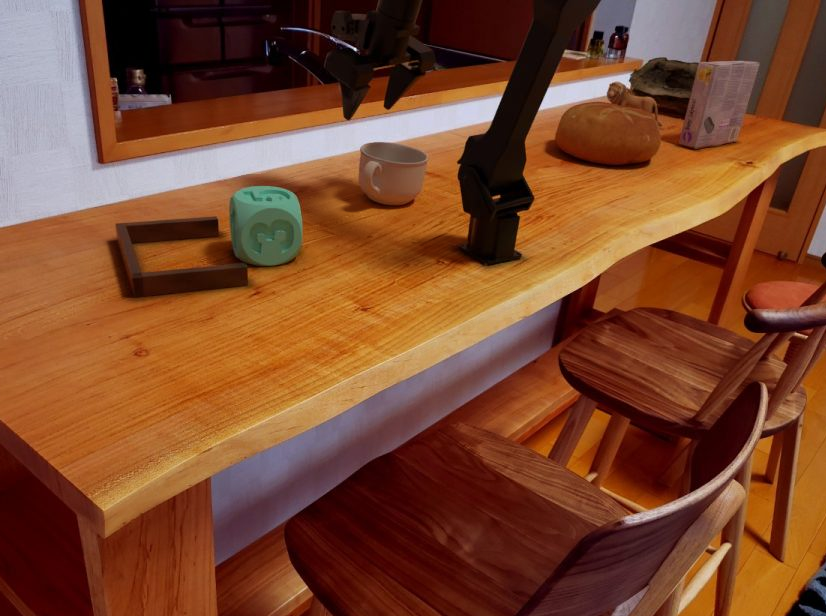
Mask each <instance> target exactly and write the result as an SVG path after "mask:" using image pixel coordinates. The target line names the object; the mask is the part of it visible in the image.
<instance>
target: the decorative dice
mask: <svg viewBox="0 0 826 616" xmlns="http://www.w3.org/2000/svg"><path fill="white" fill-rule="evenodd" d="M228 207H229V208H228V214H229V215H228V217H229V231H230V232H229V233H230V239H231V245H232V249H233V253H234V256H235V257H236V258H237V259H238V260H239V261H241V262H242V263H246V264H248V265H253V266H259V267H274V266H280V265H285V264H287V263H290V262H291V261H293V260H294V259H295V258H296V257H297V256H298V254H300V252H301V250H302V246H303V238H304V237H303V235H304V234H303V232H304V231H303V230H304V229H303V217H302V209H301V205H300V202H299V199H298V197H297V195H296V194H295V193H294V192H292V191H291V190H288V189H286V188H283V187H280V186H279V187H278V186H271V185H256V186H255V185H254V186H248V187H243V188H239V190H237V191H236V192H234V194H233V195H231V197H230V198H229V205H228Z"/></svg>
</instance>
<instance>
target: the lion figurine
mask: <svg viewBox="0 0 826 616" xmlns="http://www.w3.org/2000/svg"><path fill="white" fill-rule="evenodd" d="M608 85H609V86H608V89H607V92H606V98H607V100H608V102H609V103H612V104H616V105H619V106H623V107H630V108H637V109H642V110H644V111H646V112H648V113H649V114H651V115H652V116H653V111H654V118H655V119H656V121H657V122H658V125H659V127H661V128H662V127H663V125H662V123H661V122H659V118H658V117H659V115H658V114H659V112H658V111H659V110H658V104H656V102H655V100H654V99H653V98H651V97H638V96H635V95H634V94H633V92H632V89H630V88H629V87H627V86H626V84H624V83H622V82H620V81H614V82H613V81H612V83H609V84H608Z"/></svg>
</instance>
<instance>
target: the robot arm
mask: <svg viewBox="0 0 826 616" xmlns="http://www.w3.org/2000/svg"><path fill="white" fill-rule="evenodd" d="M601 1H602V0H532V12H533V13H532V14H533V18H532V22H531V24H530V26H529V29H528V31H527V33H526V36H525V39H524V41H523V43H522V46H521V49H520V51H519V54H518V55H517V59H516V61H515V64H514V66H513V68H512V71H511V74H510V76H509V78H508V81H507V84H506V86H505V88H504V91H503V94H502V96H501V98H500V101H499V104H498V105H497V108H496V110H495V113H494V115H493V118H492V120H491V123H490V126H489V127H488V129H487V131H486V132H485V133H484V132H483V133H479V134H474V135H469V136H468V137H467V140H466V141H465V145H464V148H463V151H462V154H461V157H460V158H459V159H458V160H457V161H456V164H457V165H459V167H458V170H457V181H458V183H459V191H460V197H461V203H462V204H461V205H462V212H464V213H466V214H469V216H470V217H469V224H468V232H467V237H466V238H467V239H466V243H461V244H459V245H458V249H459V250H461V251H462V252H464V253H465V254H467V255H469V256H471V257H472V258H474V259H475V260H478V261H479V262H481V263H482V264H485V265H494V264H499V263H502V262H507V261H512V260H518V259H521V258H522V256H523V253H522V252H520V251H518V250H516V244H517V237H518V232H519V228H520V227H519V226H520V219H521V216H520V215H519V214H518V213H521V212H527V211H529V210H530V209H531V207H532V205H533V203H534V201H535V195H534V194H533V191H532V190H531V188H530V185H529V184H528V182H527V180H526V178H525V176H524V171H525V167H526V164H527V148H526V140H527V137H528V134H529V132H530V130H531V129H532V126H533V123H534V121H535V119H536V118H537V117H536V116H537V115H538V113H539V110H540V108H541V105H542V103H543V101H544V99H545V97H546V94H547V92H548V90H549V87H550V85H551V84H552V81H553V78H554V77H555V74H556V72H557V70H558V67H559V65H560V63H561V61H562V58H563V56H564V54H565V52H566V49H567V47H568V45H569V43H570V40H571V38H572V36H573V35H574V33H575V31H577V29H578V28H579V27H580V26H581V25H582V24H583V23H584V22H585V21H586V20H587V19H588V18H589V17H590V16H591V14H593V13H594V12H595V11H596V9H597V8H598V6H599V5H600V3H601ZM422 2H423V0H378V1H377V5H376V8H375V9H374V10H368V12H366V14H365V13H352V12H351V11H350V10H348V11H345V10H336V11H334V14H333V15H332V19H331V25H330V27H331V33H332V34H333V36H337V39H338V40H339V41H344V40H346V41H351V42H356V43H355V46H356V47H357V48H358V49H360V50H361V51H365V55H361V54H360V53H358V52H357V51H355V50H354V49H352V48H351V47H344V48H338V49H332V50H331V51H329V52H327V53H326V56H325V61H324V64H323V69H325V71H327V72H328V73H330V75H331V76H333V78H335V79H337V81H338V83H339V88H340V94H341V105H342V117H343V119H345V120H346V121H351V120H352V118H353V117H354V116H355V114H356V113H357V111H358V109H359V107H360V105H361V104H362V103H363V101H364V99H365V97H366V96H367V94H368V93H369V91H370V89H371V88H372V86H371V85H369V84H370V83H371V81H373V79H374V74H375V71H377V70H378V71H379V70H382V69H383V70H384V69H387V68H389V70H390V71H389V77H388V81H387V86H386V91H385V94H384V100H383V108H384V109H385V110H387V111H388V110H391V109H392V108H393V107H394V106H395V105H396V104H397V103H398V102H399V100H400V99H401V98H403V97H404V96H405V94H406V93H407V92H409V90H410V89H412V88H413V87H414V85H416V84H417V83H418V82H419V81H420V80H421V79H422V78H424V77H425V76H426V75H427V72H432V71H433V68H434V66H435V64H436V60H437V58H436V55H435V51H434V50H433V49H432V48H430V47H429V46H428V45H426V44H424V43H423V42H422V41H420V40H418V39H417V38H415V37H414V36H416V35H419V32H420V29H421V27H420V26H419V25H418V24H416V21H417V18H418V16H419V12H420V9H421V5H422ZM498 196H499V197H498ZM493 197H497V198H493Z"/></svg>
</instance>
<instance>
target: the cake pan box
mask: <svg viewBox="0 0 826 616" xmlns="http://www.w3.org/2000/svg"><path fill="white" fill-rule="evenodd" d="M698 63H699V64H698V68H697V72H696V76H695V80H694V84H693V88H692V92H691V97H690V101H689V105H688V109H687V112H686V114H685V117H684V121H683V125H682V128H681V133H680V137H679V141H678V144H679V145H681V146H684V147H687V148H689V149H693V150H697V149H702V148H708V147H718V146H722V145H724V144H731V143H737V142H738V140H739V136H740V133H741V129H742V126H743V123H744V119H745V116H746V112H747V109H748V106H749V101H750V98H751V95H752V91H753V88H754V85H755V81H756V78H757V75H758V72H759V68H760V65H761V64H760V61H750V60H730V61H729V60H728V61H727V60H724V61H723V60H722V61H721V60H719V61H699V62H698Z"/></svg>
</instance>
